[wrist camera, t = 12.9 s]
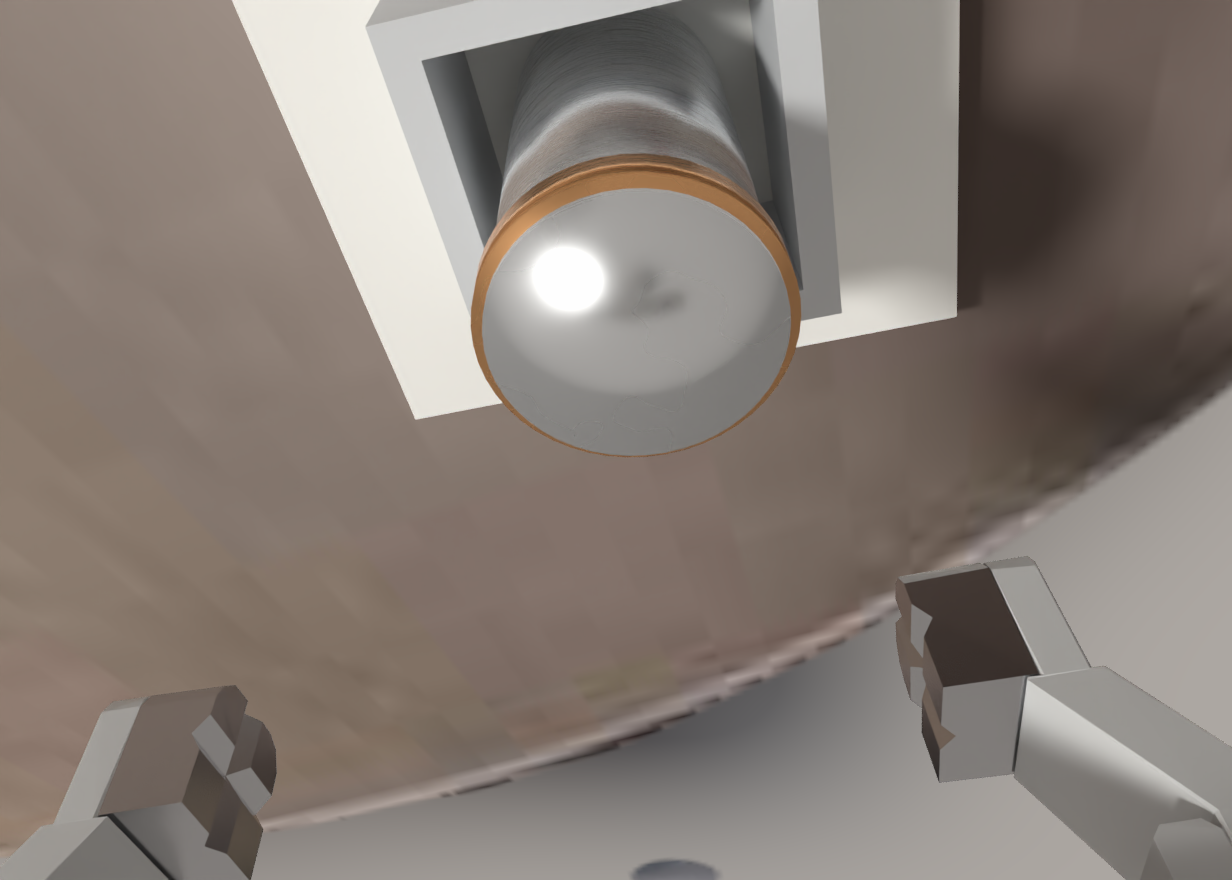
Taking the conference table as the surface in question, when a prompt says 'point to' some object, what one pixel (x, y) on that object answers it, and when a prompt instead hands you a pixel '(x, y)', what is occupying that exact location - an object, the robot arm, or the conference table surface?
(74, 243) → the conference table surface
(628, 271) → the copper rimmed tube
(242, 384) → the conference table surface
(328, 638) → the conference table surface
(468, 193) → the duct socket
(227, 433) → the conference table surface
